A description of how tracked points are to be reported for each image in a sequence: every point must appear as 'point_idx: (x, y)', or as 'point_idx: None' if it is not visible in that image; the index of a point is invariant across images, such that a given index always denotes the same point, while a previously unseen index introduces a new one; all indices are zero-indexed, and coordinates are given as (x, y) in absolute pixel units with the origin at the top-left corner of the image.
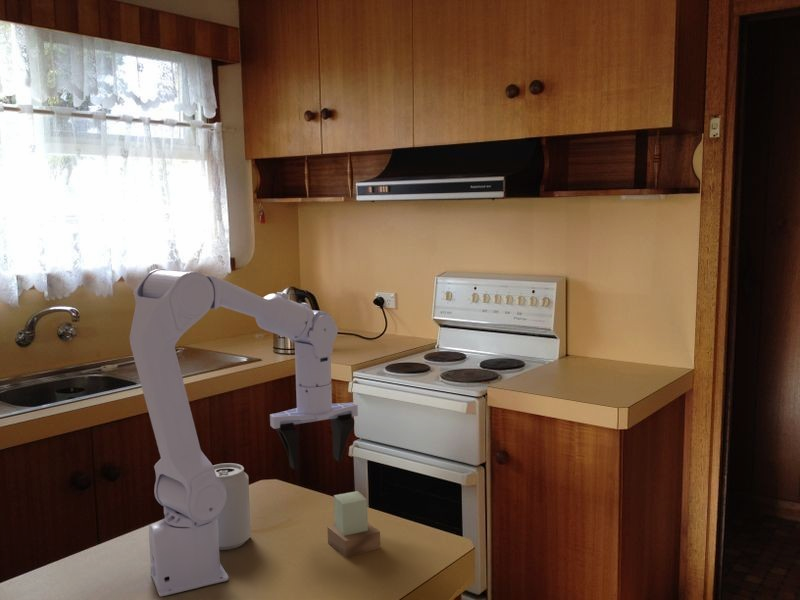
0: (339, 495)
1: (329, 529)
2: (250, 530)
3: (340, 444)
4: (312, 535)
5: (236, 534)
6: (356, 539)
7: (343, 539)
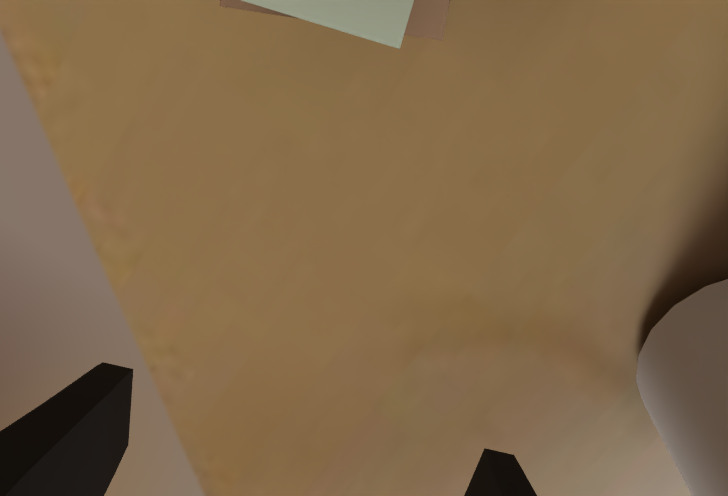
0: (365, 12)
1: (446, 14)
2: (684, 318)
3: (26, 469)
4: (439, 156)
5: None
6: None
7: None
